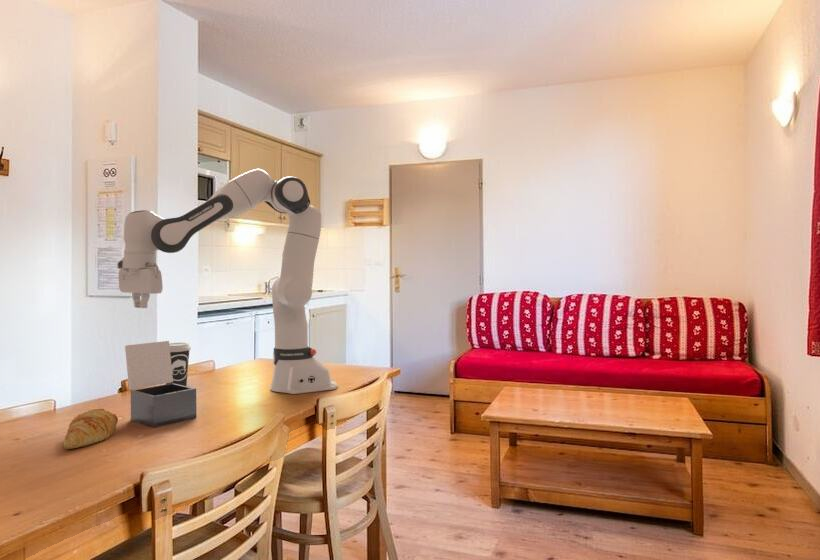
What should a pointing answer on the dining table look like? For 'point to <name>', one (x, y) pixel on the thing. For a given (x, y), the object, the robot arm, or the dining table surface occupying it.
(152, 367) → the lid
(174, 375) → the coffee cup
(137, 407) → the grey box
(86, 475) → the dining table surface
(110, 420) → the croissant
